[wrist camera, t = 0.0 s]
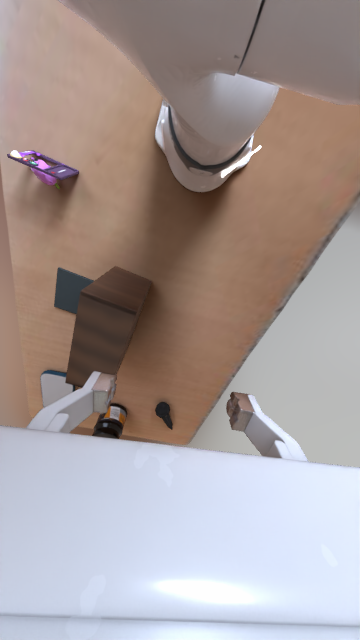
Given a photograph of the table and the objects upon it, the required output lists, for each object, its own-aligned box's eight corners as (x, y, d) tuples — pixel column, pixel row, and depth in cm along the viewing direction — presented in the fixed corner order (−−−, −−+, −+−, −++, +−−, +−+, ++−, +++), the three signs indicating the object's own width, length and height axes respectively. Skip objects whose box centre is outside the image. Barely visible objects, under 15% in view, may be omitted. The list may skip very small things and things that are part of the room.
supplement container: (119, 399, 73) (109, 430, 62) (132, 414, 77) (124, 445, 67) (97, 405, 74) (83, 436, 64) (111, 419, 79) (100, 450, 69)
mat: (59, 267, 47) (57, 267, 47) (97, 282, 49) (96, 282, 48) (55, 305, 52) (54, 306, 52) (89, 317, 54) (89, 318, 54)
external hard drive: (42, 367, 64) (39, 371, 63) (76, 374, 66) (73, 378, 64) (46, 407, 75) (43, 411, 74) (75, 412, 77) (72, 417, 75)
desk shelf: (115, 266, 47) (80, 290, 31) (152, 281, 49) (137, 311, 32) (97, 337, 58) (64, 383, 42) (128, 347, 60) (107, 394, 43)
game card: (59, 172, 32) (4, 148, 31) (63, 204, 36) (14, 183, 34) (79, 166, 37) (31, 145, 35) (80, 194, 40) (37, 176, 39)
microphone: (175, 420, 84) (165, 396, 72) (179, 432, 79) (169, 410, 68) (164, 425, 83) (152, 402, 71) (167, 438, 78) (155, 416, 67)
